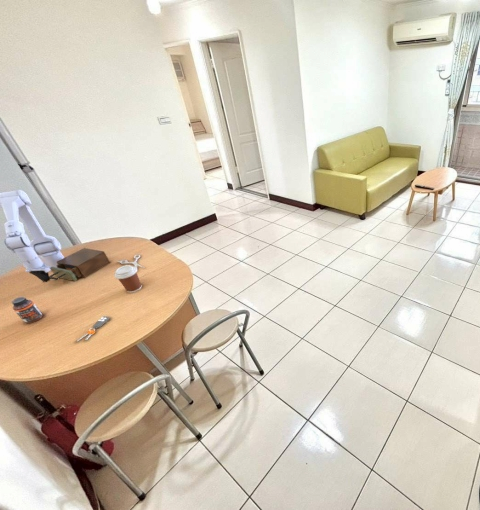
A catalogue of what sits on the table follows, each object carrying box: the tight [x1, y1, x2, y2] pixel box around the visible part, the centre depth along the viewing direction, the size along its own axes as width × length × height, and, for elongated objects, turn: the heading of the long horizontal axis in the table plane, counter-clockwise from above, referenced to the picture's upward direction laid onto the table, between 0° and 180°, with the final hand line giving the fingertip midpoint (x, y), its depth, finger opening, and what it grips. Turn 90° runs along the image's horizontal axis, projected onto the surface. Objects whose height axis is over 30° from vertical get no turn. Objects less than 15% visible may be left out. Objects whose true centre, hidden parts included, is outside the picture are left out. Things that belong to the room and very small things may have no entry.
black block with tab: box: [63, 264, 75, 273], centre depth 145 cm, size 9×3×5 cm, turn 75°
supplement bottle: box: [11, 296, 44, 324], centre depth 118 cm, size 6×6×11 cm
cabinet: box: [57, 247, 111, 279], centre depth 150 cm, size 15×15×8 cm
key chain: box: [76, 315, 110, 342], centre depth 115 cm, size 13×4×2 cm, turn 174°
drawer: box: [49, 264, 82, 282], centre depth 145 cm, size 18×13×6 cm
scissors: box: [117, 254, 144, 270], centre depth 155 cm, size 11×1×20 cm
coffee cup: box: [114, 264, 143, 293], centre depth 134 cm, size 9×9×12 cm
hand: (47, 280), depth 137 cm, fingers closed, pressing on drawer
